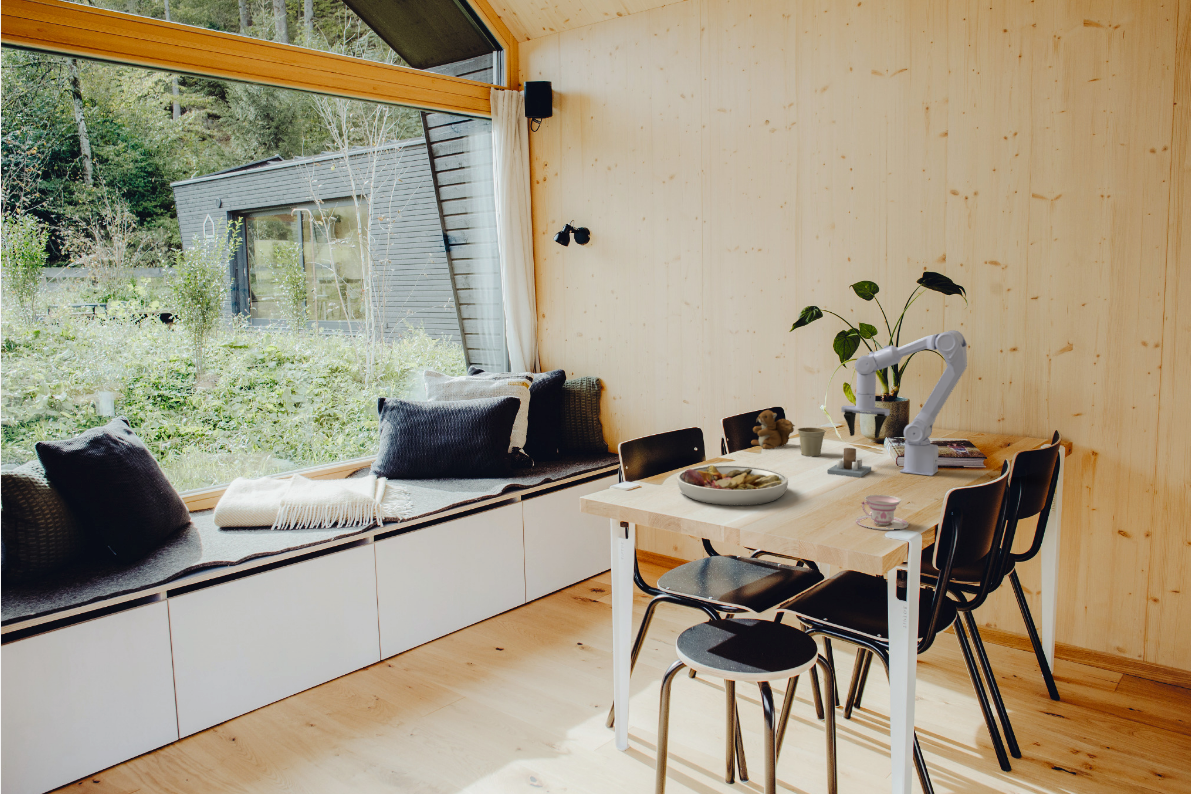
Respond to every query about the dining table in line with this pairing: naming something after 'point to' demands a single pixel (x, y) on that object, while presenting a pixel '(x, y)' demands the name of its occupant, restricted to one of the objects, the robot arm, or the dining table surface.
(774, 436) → the stuffed squirrel
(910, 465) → the robot arm
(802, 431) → the flower pot
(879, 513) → the teacup
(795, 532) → the dining table surface
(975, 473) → the dining table surface
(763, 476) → the bowl
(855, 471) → the peg pad
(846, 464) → the walnut pin
